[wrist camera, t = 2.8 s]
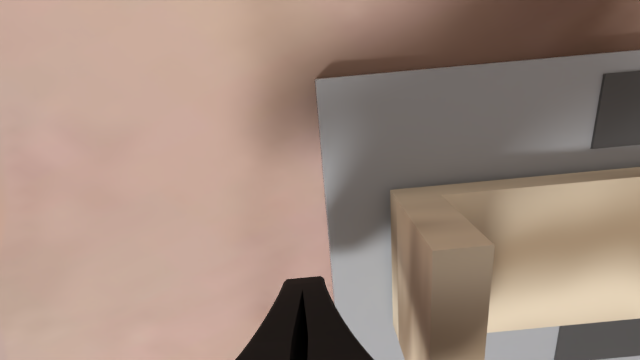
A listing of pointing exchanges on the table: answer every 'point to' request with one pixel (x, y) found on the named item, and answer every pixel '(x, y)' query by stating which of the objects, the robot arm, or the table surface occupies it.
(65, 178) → the table surface
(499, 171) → the plate
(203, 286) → the table surface
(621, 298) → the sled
